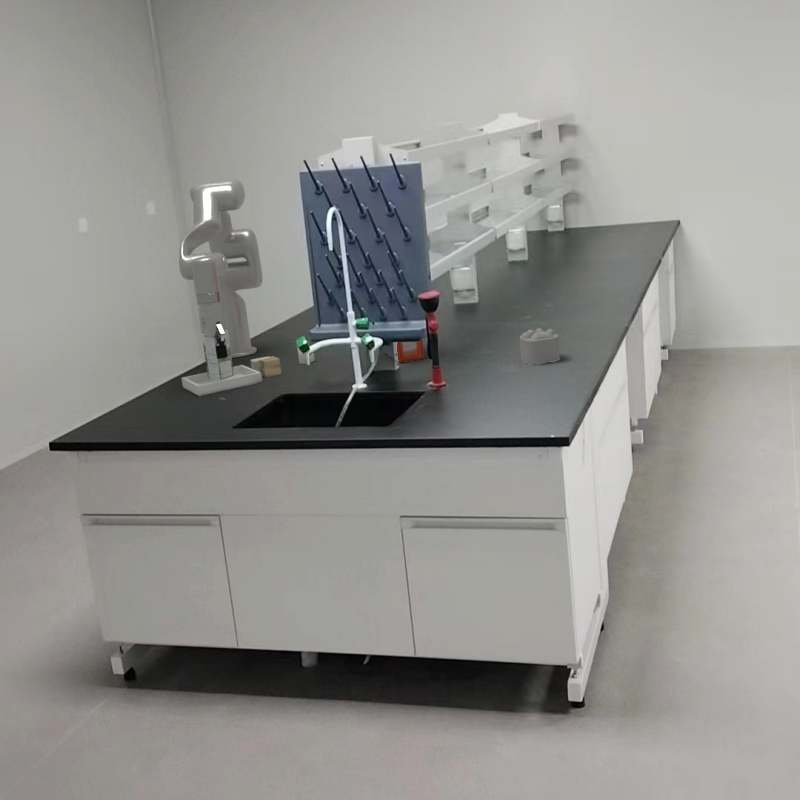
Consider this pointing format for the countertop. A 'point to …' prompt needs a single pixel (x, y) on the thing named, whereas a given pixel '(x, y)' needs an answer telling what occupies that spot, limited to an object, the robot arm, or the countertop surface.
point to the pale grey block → (302, 357)
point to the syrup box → (215, 366)
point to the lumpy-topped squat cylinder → (539, 346)
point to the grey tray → (221, 381)
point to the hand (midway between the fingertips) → (218, 355)
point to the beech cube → (270, 366)
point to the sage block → (256, 364)
